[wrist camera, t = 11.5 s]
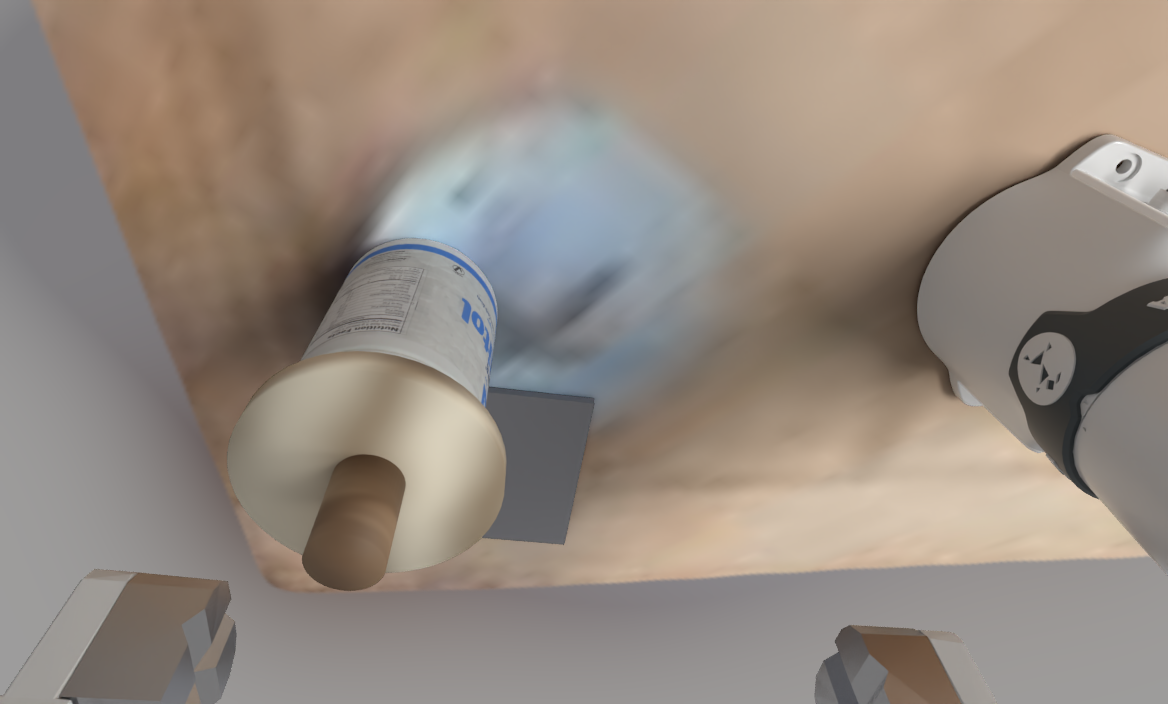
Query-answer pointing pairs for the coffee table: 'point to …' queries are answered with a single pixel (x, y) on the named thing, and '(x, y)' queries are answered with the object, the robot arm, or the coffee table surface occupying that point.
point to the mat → (538, 461)
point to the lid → (367, 465)
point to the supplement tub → (416, 311)
